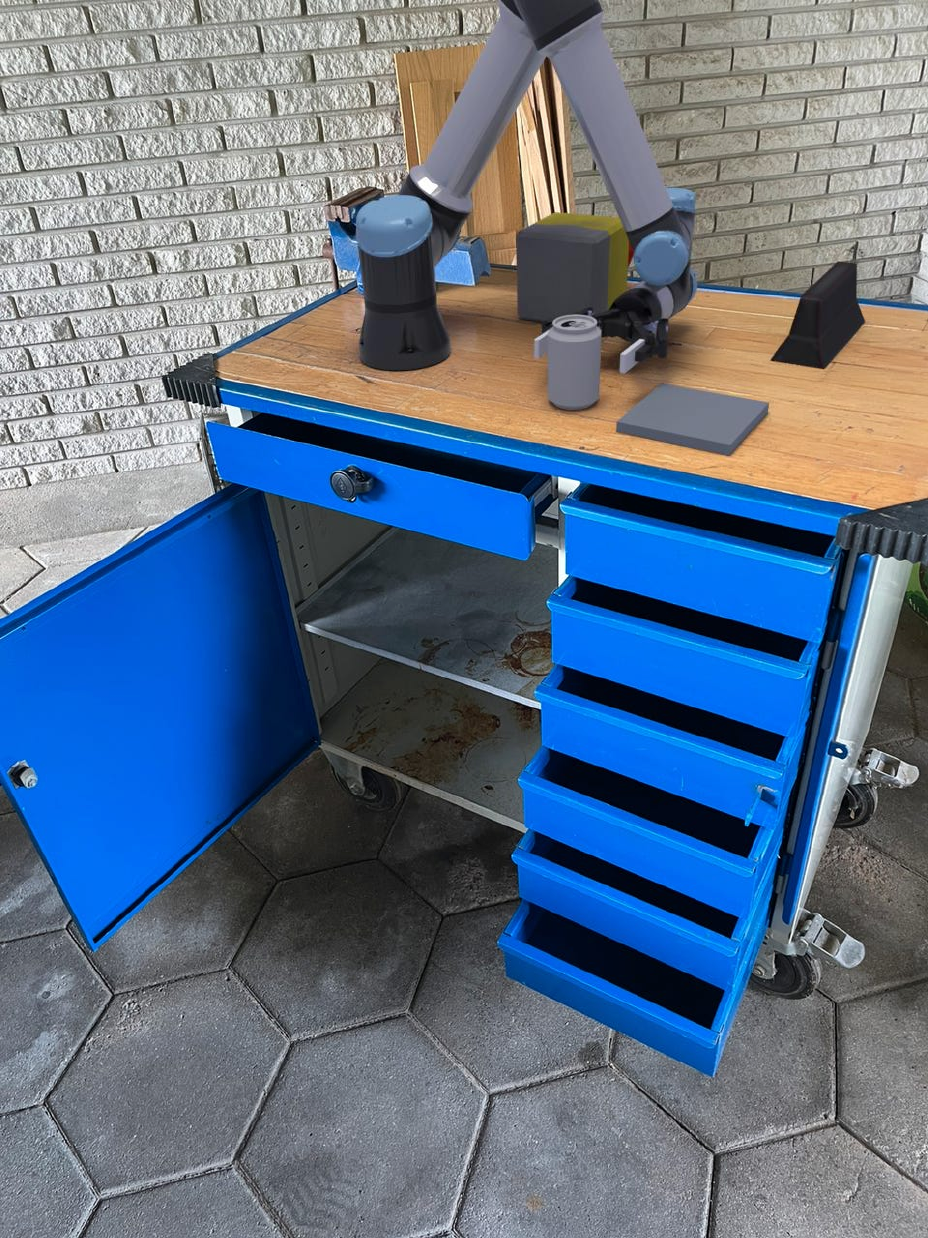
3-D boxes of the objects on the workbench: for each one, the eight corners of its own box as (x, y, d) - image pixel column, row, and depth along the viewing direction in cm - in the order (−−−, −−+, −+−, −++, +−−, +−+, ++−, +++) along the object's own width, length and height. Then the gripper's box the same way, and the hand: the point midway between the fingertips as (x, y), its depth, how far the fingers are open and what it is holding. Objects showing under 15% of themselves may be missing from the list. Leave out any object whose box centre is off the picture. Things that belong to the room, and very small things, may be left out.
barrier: (825, 371, 146) (836, 305, 140) (768, 362, 150) (777, 297, 144) (866, 323, 161) (878, 261, 155) (813, 315, 165) (823, 256, 159)
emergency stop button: (646, 289, 181) (651, 204, 172) (593, 330, 164) (596, 239, 156) (574, 280, 187) (575, 198, 179) (515, 319, 171) (514, 231, 162)
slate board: (616, 431, 131) (616, 421, 131) (660, 392, 141) (661, 382, 141) (728, 455, 124) (730, 444, 123) (767, 412, 134) (769, 402, 133)
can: (566, 387, 145) (567, 308, 138) (609, 398, 141) (612, 317, 134) (537, 404, 140) (537, 323, 133) (580, 416, 136) (582, 333, 129)
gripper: (714, 346, 147) (658, 396, 133) (568, 323, 158) (503, 367, 144) (719, 296, 142) (662, 343, 128) (569, 277, 154) (502, 318, 140)
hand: (578, 356), depth 136 cm, fingers open, 13 cm apart
